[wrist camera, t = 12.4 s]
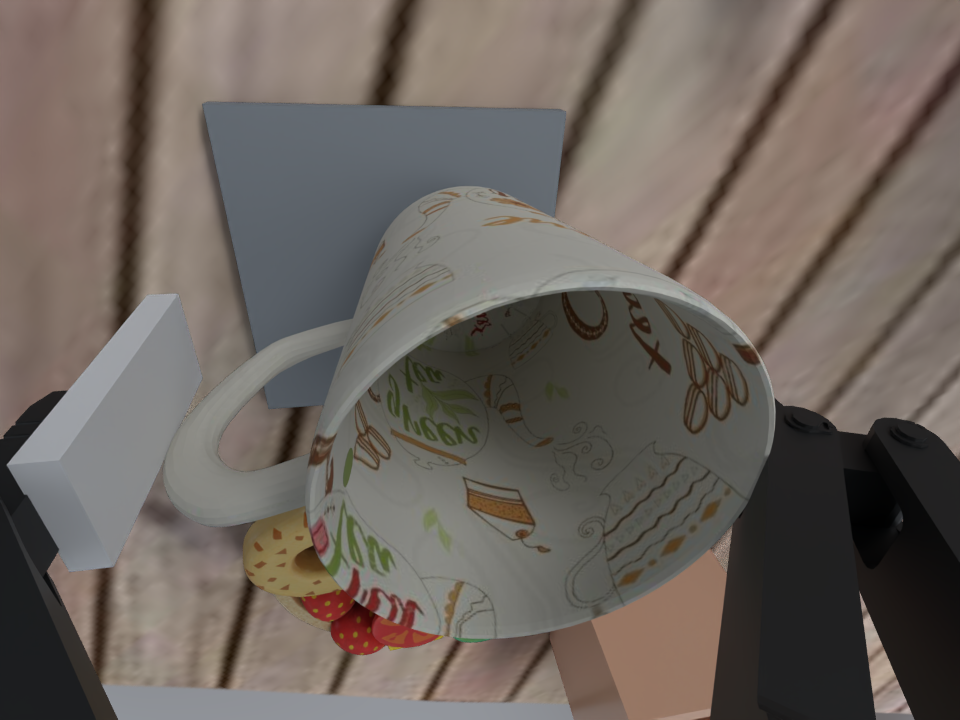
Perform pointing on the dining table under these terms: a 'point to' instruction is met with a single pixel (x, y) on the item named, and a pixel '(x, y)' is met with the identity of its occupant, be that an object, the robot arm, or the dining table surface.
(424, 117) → the coaster
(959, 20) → the dining table surface
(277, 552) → the toy food set
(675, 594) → the planter
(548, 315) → the mug
